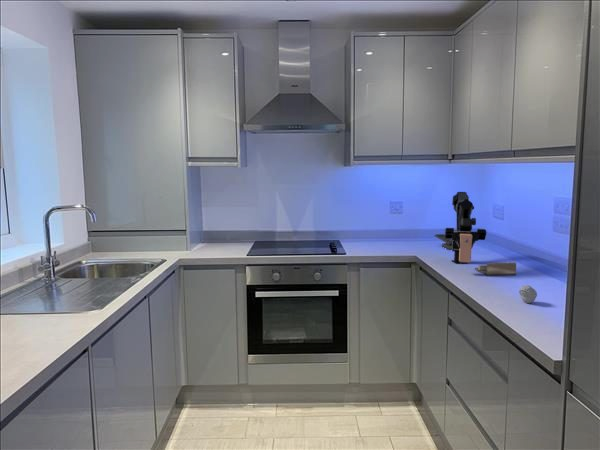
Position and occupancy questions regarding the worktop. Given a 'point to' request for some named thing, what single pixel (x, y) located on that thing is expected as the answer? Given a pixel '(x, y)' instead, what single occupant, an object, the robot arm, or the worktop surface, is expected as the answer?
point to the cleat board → (497, 269)
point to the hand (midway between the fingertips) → (465, 247)
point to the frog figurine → (528, 294)
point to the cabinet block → (465, 248)
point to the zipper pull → (447, 241)
